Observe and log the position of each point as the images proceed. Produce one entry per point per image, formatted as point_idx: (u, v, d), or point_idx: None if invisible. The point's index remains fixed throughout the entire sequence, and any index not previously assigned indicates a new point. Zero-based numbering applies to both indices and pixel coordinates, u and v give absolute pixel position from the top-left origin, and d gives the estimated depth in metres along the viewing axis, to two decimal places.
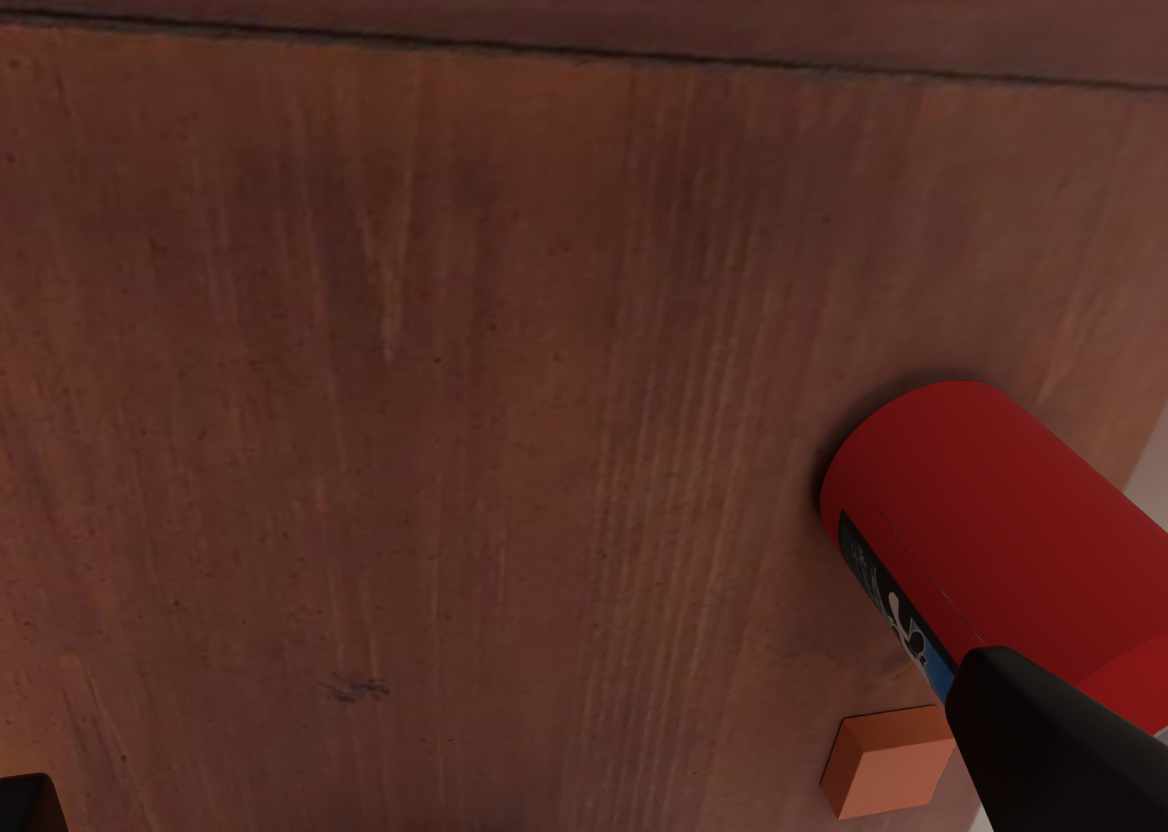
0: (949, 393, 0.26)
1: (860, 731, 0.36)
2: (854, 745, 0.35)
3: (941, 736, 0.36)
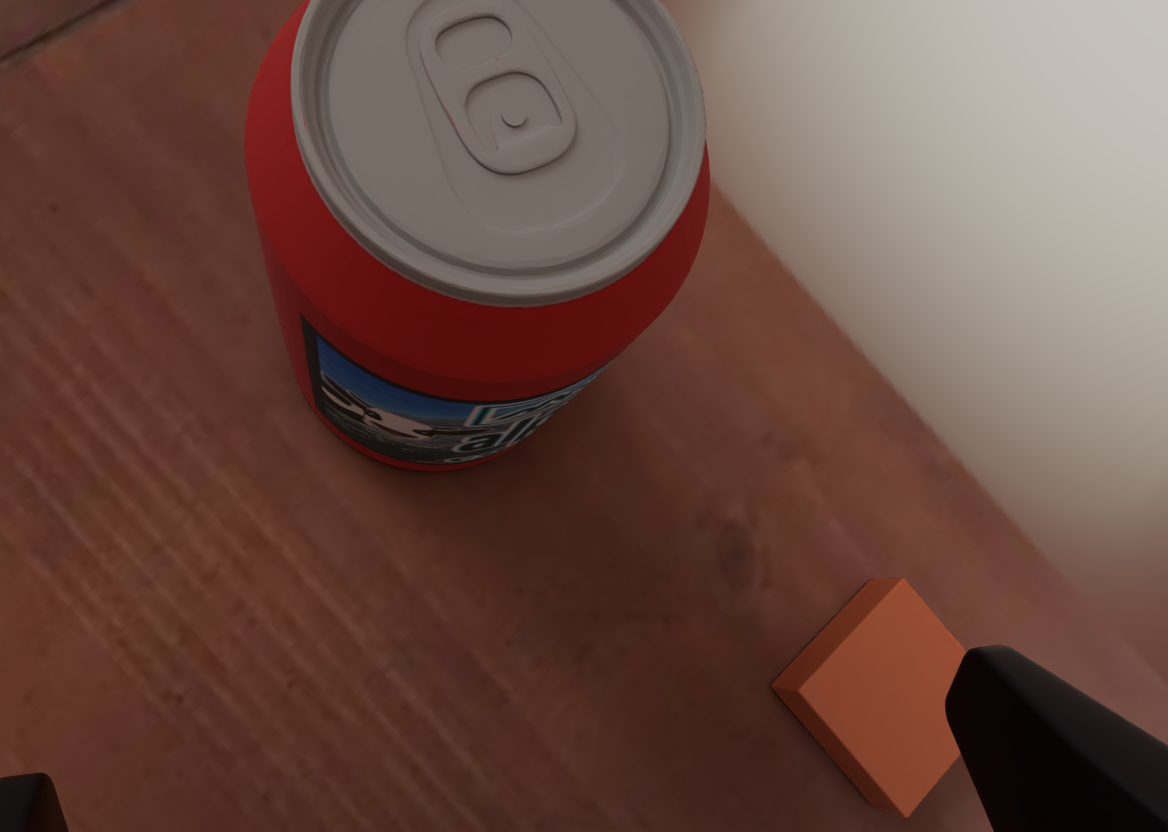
0: None
1: (791, 677, 0.23)
2: (794, 697, 0.23)
3: (883, 593, 0.24)
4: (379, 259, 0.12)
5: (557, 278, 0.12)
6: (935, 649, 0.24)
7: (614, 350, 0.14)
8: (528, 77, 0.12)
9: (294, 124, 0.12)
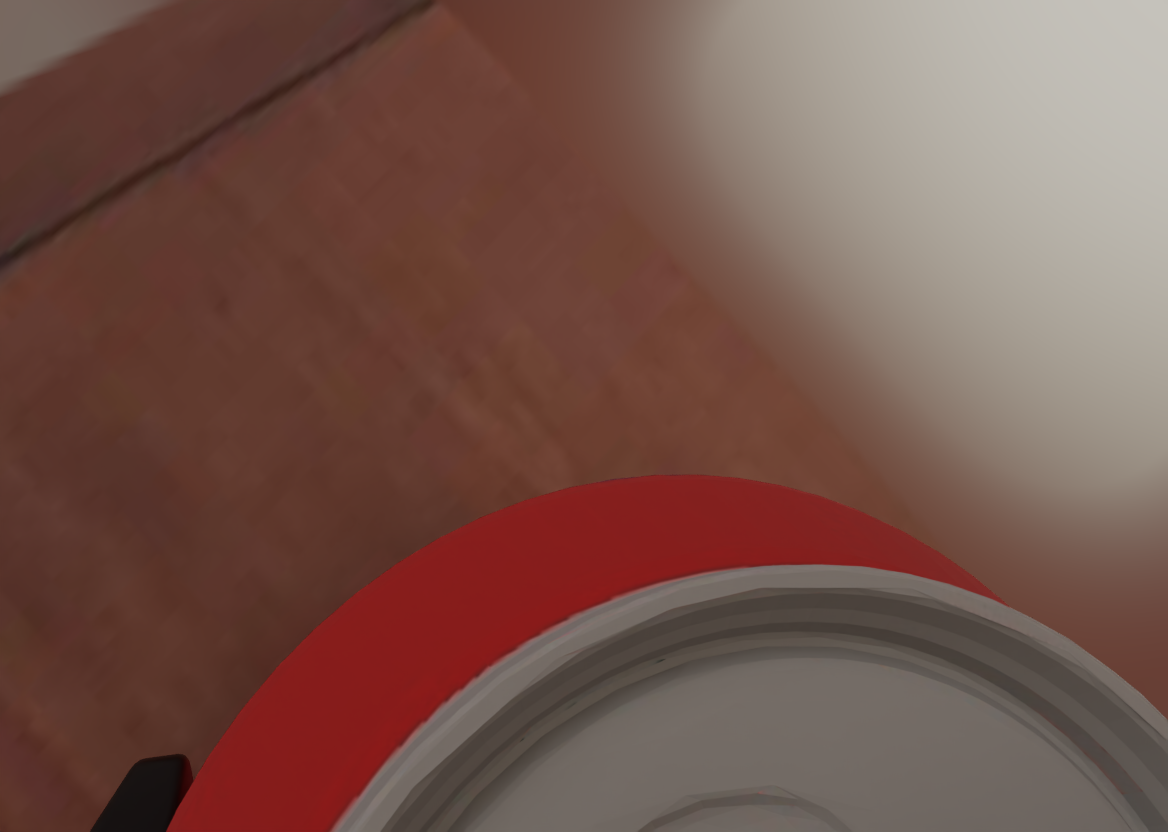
0: None
1: None
2: None
3: None
4: None
5: None
6: None
7: None
8: None
9: None
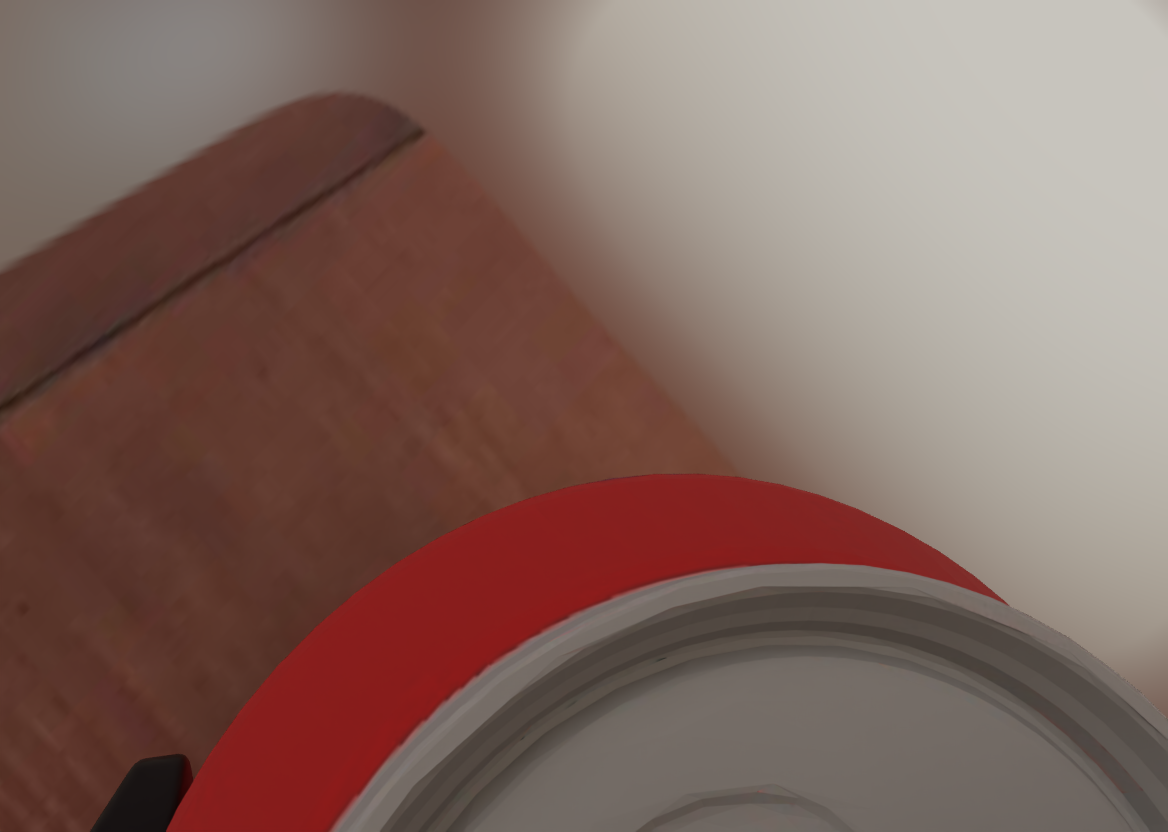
0: None
1: None
2: None
3: None
4: None
5: None
6: None
7: None
8: None
9: None
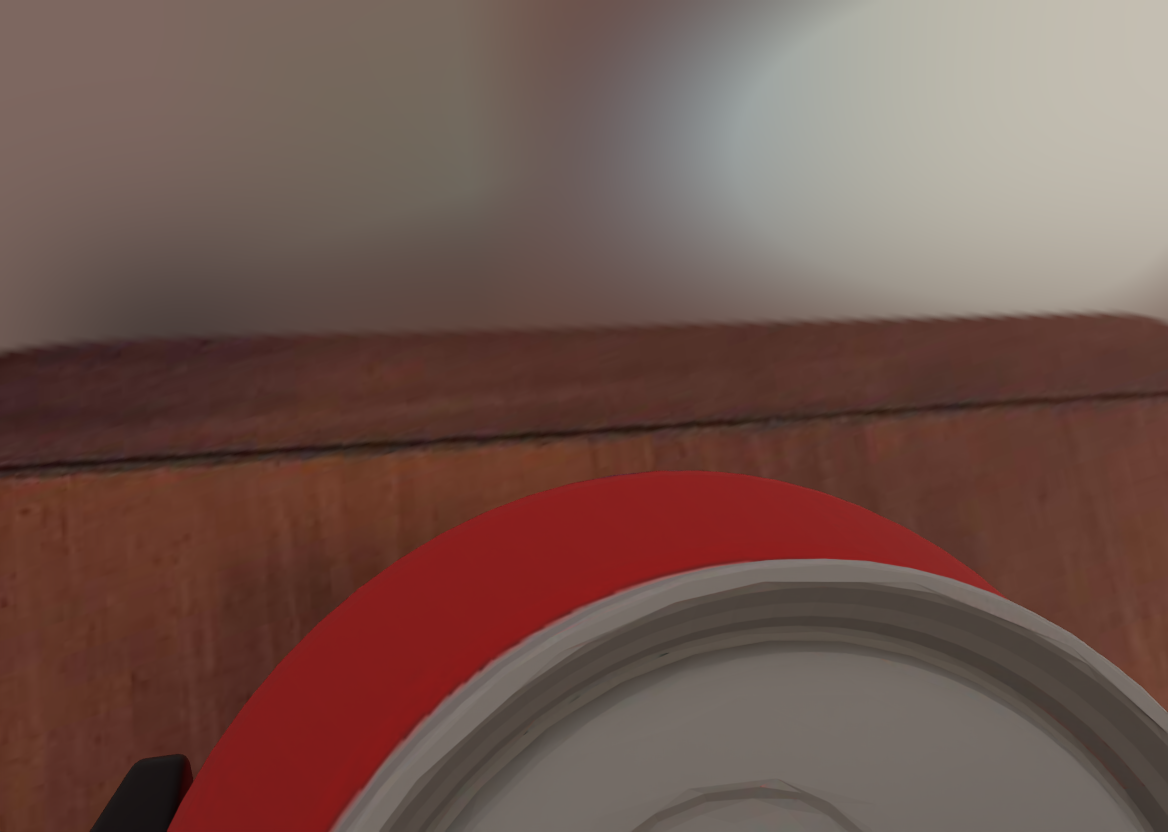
0: None
1: None
2: None
3: None
4: None
5: None
6: None
7: None
8: None
9: None
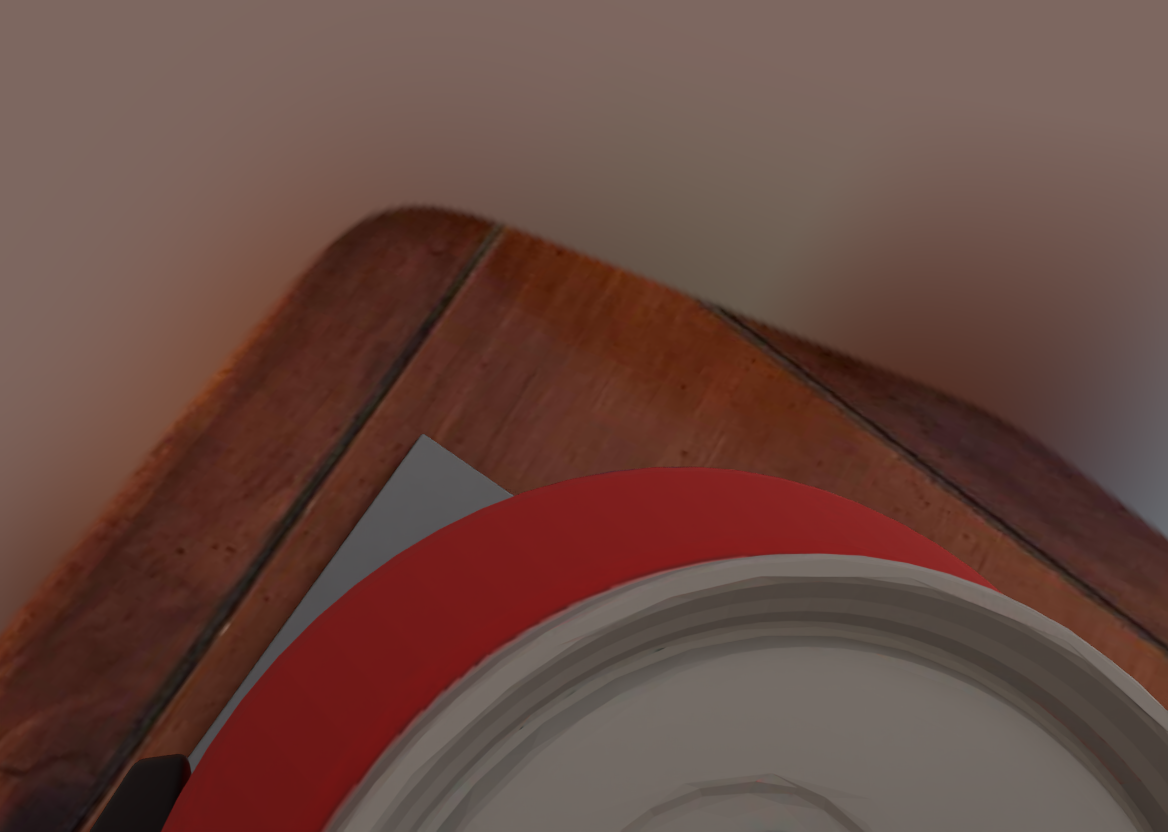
0: None
1: None
2: None
3: None
4: None
5: None
6: None
7: None
8: None
9: None
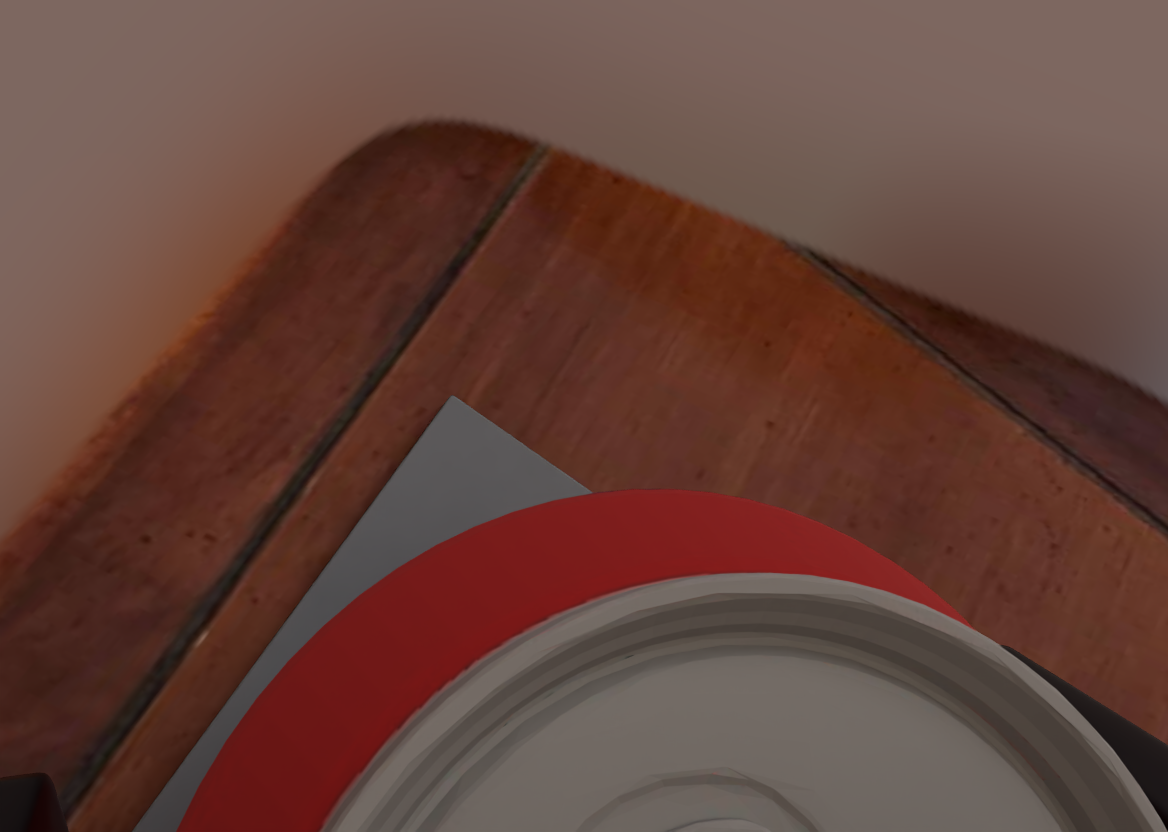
0: None
1: None
2: None
3: None
4: None
5: None
6: None
7: None
8: None
9: None
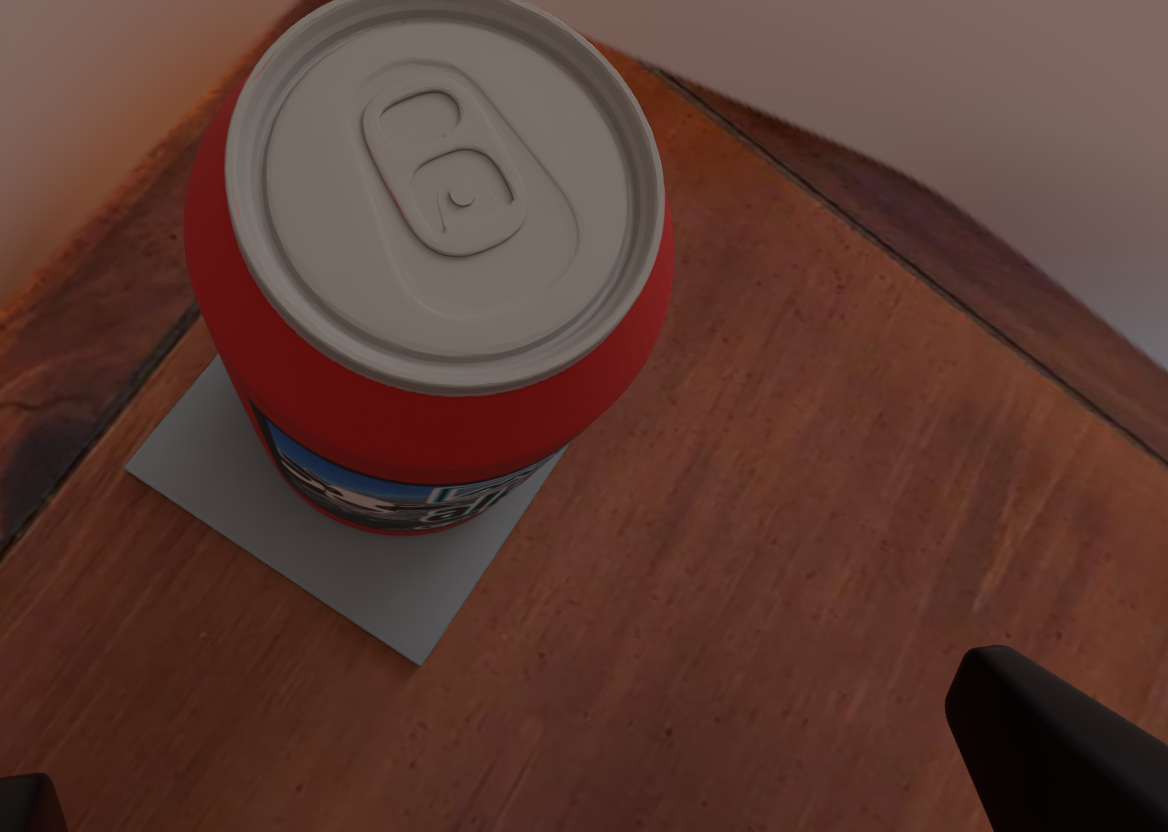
0: None
1: None
2: None
3: None
4: (320, 350, 0.11)
5: (509, 365, 0.11)
6: None
7: (575, 432, 0.13)
8: (478, 154, 0.12)
9: (229, 211, 0.11)
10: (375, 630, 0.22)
